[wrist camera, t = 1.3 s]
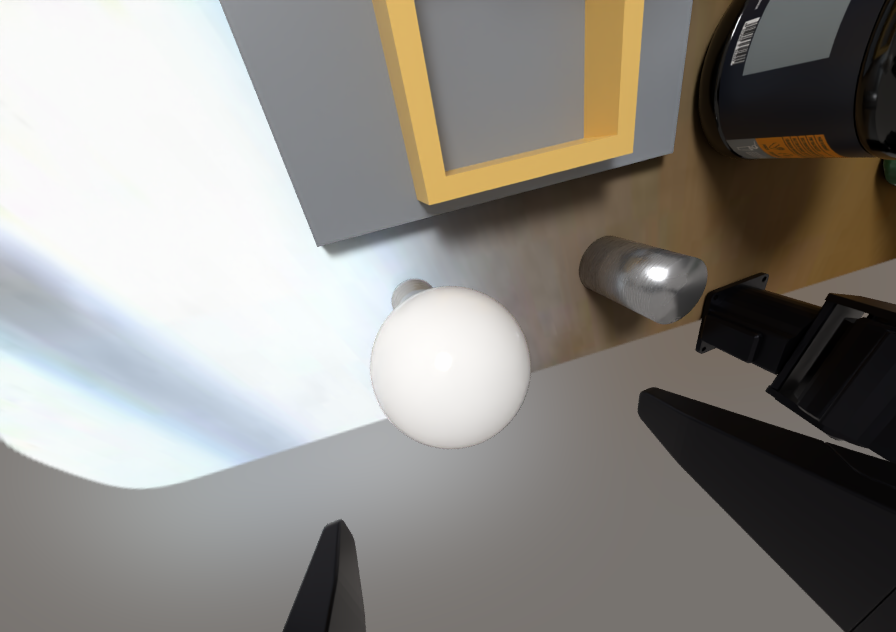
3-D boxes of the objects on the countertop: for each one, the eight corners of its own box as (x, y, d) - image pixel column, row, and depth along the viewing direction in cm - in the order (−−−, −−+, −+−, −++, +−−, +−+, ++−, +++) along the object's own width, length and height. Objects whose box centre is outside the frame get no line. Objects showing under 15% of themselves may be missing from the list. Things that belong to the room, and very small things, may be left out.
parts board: (693, -159, 15) (785, -242, 12) (659, 152, 21) (713, 151, 18) (170, -133, 11) (106, -247, 8) (318, 242, 17) (314, 259, 14)
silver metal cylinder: (627, 229, 23) (713, 248, 18) (623, 280, 25) (700, 312, 19) (579, 244, 22) (653, 269, 17) (578, 296, 24) (645, 332, 19)
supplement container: (761, 172, 24) (1076, 179, 14) (661, 144, 21) (984, 126, 10) (849, -8, 20) (1380, -185, 10) (744, -81, 17) (1399, -471, 6)
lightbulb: (454, 338, 22) (543, 470, 13) (358, 344, 20) (378, 506, 11) (465, 246, 20) (587, 324, 10) (357, 242, 18) (382, 335, 8)
